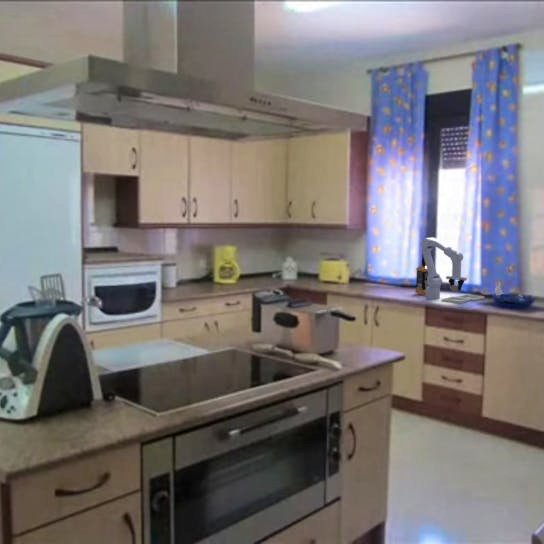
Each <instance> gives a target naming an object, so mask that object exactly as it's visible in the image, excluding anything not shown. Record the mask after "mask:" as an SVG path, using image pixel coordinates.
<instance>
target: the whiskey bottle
mask: <svg viewBox="0 0 544 544" xmlns="http://www.w3.org/2000/svg"><path fill="white" fill-rule="evenodd" d="M421 254H422V255H421V256H422V258H421V265H419V266H418V267H416V270H415V271H416V286H415V290H414V291H415V292H414V293H417V294H416V295H419V294H421V295H420V296H426V288H427V287H428V284H427V277H428V275H429V274H428V270H427V267H426V263H425V260H424V257H423V253H422V252H421Z"/></svg>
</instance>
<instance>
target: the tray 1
mask: <svg viewBox="0 0 544 544" xmlns="http://www.w3.org/2000/svg"><path fill="white" fill-rule="evenodd" d="M441 302H443V303H453V304H463V303H464V304H465V303H468V302H471V301H470V299H469V298H460V297H458V296H450V297H445V298H442V299H441Z"/></svg>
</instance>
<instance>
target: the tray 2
mask: <svg viewBox="0 0 544 544" xmlns="http://www.w3.org/2000/svg"><path fill="white" fill-rule="evenodd" d="M457 297H460V298H469V299H470V301H469V302H478V301H481V300H485V295H484V296H481V295H474V294H473V295H472V294H463V295H460V296H459V295H458V296H457Z"/></svg>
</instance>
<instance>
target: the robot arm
mask: <svg viewBox="0 0 544 544" xmlns="http://www.w3.org/2000/svg"><path fill="white" fill-rule="evenodd" d="M420 244H421V254H422V253H423V257H424V260H425V263H426V267H427V270H428V274H429V275H428V277H427V284H428V287H427V288H426V295H425V298H424V300H428V299H431V300H436V299H437V300H438V299H440V298H441V297H440V296H441V285H442V284H443V279H442V278H441V276H440V274H439V273H438V272H437V270H436V266H435V263H434V260H433V256H432V253H431V251H432V250H433V249H434V248H437V249H439V250H441V251H443V254H444V255H445V256H447V257H448V258H449V259H450V260H451V265H452V267H451V271H452V272H451V276H450V275H449V276H448V275H447V276H445V280H448V284H449V285H450V289H451V290H452V285H455V282H456V280H457V285H458V291H461V292H462V287H463V284H464V283H465V281H466V282H467V280H468V278H467V277H465V276H464V277H463V276H462V261H463V260H464V256H463V254H462V253H461V252H458V251H456V250H454V249H453V248H452V247H451V246H445V244H443V243H442V242H440V240H439V239H438V238H436V237H424V238H422V240H421V242H420ZM426 298H428V299H426Z"/></svg>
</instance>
